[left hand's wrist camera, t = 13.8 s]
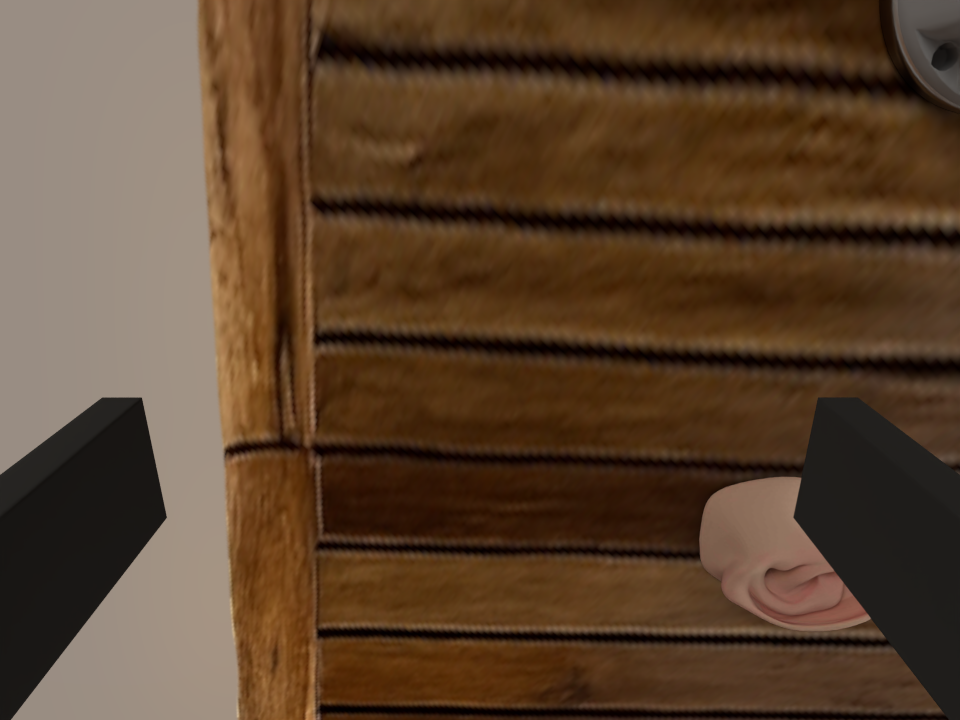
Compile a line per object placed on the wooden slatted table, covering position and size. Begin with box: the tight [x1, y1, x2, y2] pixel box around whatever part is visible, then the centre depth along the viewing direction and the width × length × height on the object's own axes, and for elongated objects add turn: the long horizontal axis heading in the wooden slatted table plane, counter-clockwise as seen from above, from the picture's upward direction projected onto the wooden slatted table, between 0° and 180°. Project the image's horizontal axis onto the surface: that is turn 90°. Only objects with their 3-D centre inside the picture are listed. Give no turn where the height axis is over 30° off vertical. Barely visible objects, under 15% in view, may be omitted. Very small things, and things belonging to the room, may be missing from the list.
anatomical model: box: [699, 477, 871, 631], centre depth 47 cm, size 13×4×12 cm
